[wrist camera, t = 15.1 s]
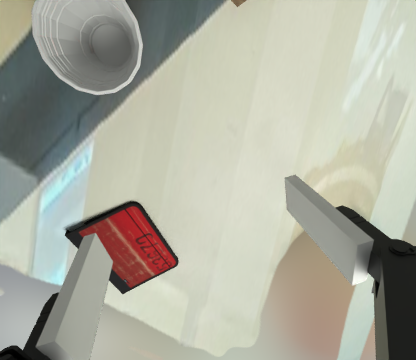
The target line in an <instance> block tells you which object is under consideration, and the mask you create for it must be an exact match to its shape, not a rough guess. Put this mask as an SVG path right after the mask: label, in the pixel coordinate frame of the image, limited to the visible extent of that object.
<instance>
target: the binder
mask: <svg viewBox="0 0 416 360" xmlns="http://www.w3.org/2000/svg"><path fill="white" fill-rule="evenodd" d="M84 224H86V225H84V226H82V227H80V228H78V229H76V230H74V231H72V232H69V231H68V230H67V231H66V233H65V236H66V237H67V238H68V239H69V240H70V241H71V242H72V243H73V244H74V245H75V246H76V247H77V248H78V249H79V247H80V244H81V242H82V240H83V238H84V236H87V235H90V234H94V233H96V234H97V236H98V238H99V239H100V241H101V243H102V244H103V246H104V248H105V249H106V251H107V253H108V254H109V256H110V257H111V259H112V261H113V264H112V268H111V273H110V277H109V281H110V282H111V283H112V284H113V285H114V286H115V287H116V288H117V289H118V290H119V291H120V292H121V293H122V294H124V293H126V292H128V291H130V290H132V289H134V288H135V287H137V286H139V285H141V284H143V283H145V282H147V281H149V280H151V279H153V278H155V277H157V276H159V275H161V274H163V273H165V272H166V271H168V270H170V269H172V268H174V267H176V266H177V265H178V257H177V256H175V254H174V253H173V252H172V250H171V249H170V247H169V246H168V245H167V243H166V242H165V240H164V239H163V237H162V236H161V234H160V233H159V231H158V230H157V228H156V227H155V226H154V224H153V223H152V221H151V220H150V218H149V217H148V215H147V214H146V212H145V210H144V208H143V207H142V205H141V204H139V203H137V202H130V203H127V204H125V205H123V206H120V207H118V208H115V209H113V210H111V211H109V212H107V213H104V214H102V215H100V216H97V217H95V218H93V219H91V220H89V221H87V222H85V223H84Z"/></svg>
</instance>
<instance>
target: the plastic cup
mask: <svg viewBox="0 0 416 360" xmlns="http://www.w3.org/2000/svg"><path fill="white" fill-rule="evenodd" d="M32 28H33V37H34V39H35V41H36V44H37V46H38V49H39V51H40V53H41V56H42V58H43V60H44V61H45V62H46V63H47V64H48V66H49V67H50V68H51V69H52V70H53V72H54V73H55V74H56V75H57V76H58V78H60V79H61V80H63V81H64V82H66V83H68V84H69V85H71V86H72V87H74V88H75V89H77V90H80V91H84V92H87V93H91V94H95V95H101V94H108V93H115V92H117V91H118V90H120V89H121V88H123V87H124V86H126V85H127V84H129V83H130V82H131V81H132V79H133V77H134V76H135V74H136V72H137V71H138V69H139V67H140V63H141V55H142V47H143V44H142V39H141V35H140V30H139V26H138V22H137V20H136V18H135V17H134V15H133V13H132V11H131V10H130V8H129V6H128V5H127V3H126V1H125V0H35V3H34V6H33V8H32Z"/></svg>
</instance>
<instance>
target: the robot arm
mask: <svg viewBox="0 0 416 360" xmlns="http://www.w3.org/2000/svg"><path fill="white" fill-rule="evenodd" d="M285 189H286V205H287V210H288V211H289V213H290V214H291V215H292V216H293V217H294V218H295V220H296V221H297V222H298V223H299V224H300V225H301V227H302V228H303V229H304V230H305V231H306V232H307V234H308V235H309V236H310V237H311V238H312V239H313V241H314V242H315V243H316V244H317V245H318V246H319V247H320V249H321V250H322V251H323V252H324V253H325V254H326V256H327V257H328V258H329V259H330V260H331V261H332V263H333V264H334V265H335V266H336V267H337V268H338V270H339V271H340V272H341V273H342V274H343V275H344V277H345V278H346V279H347V280H348V281H349V282H350V284H351V285H355V284H358V283H361V282H364V281H366V280H367V275H368V273H369V274H370V275H371V276H372V277H373V278H374V283H373V288H372V293H374V312H375V342H376V360H416V246H413V245H411V244H409V243H407V242H405V241H402V240H398V239H390V238H389V237H388V236H386V235H385V234H384V233H383V232H381V231H380V230H379V229H377V228H376V227H375V226H373V225H372V224H371V223H369V222H368V221H366V219H364V218H363V217H362V216H360V215H359V214H358V213H356V212H355V211H354V210H352V209H350V208H348V207H345V206H339V207H336V208H335V207H333V206H332V205H331V204H330V203H329V202H327V201H326V200H325V199H324V198H323V197H321V196H320V195H319V194H318V193H317V192H315V191H314V190H313V189H312V188H311V187H309V186H308V185H307V184H306V183H305V182H303V181H302V180H301V179H300V178H299V177H297V176H296V175H293V176H289V177H286V178H285ZM112 264H113V261H112V259H111V257H110V256H109V254H108V253H107V251H106V249H105V248H104V246H103V244H102V243H101V241H100V239H99V238H98V236H97V234H96V233H94V234H90V235H87V236H84V238H83V240H82V242H81V244H80V247H79V249H78V251H77V254H76V256H75V258H74V260H73V263H72V265H71V267H70V269H69V272H68V274H67V276H66V279H65V281H64V283H63V285H62V288H61V290H60V292H59V293H56V294H53V295H52V296H51V297H50V299H49V300H48V301H47V302H46V304H45V305H44V307H43V309H42V311H41V313H40V316H39V318H38V320H37V322H36V325H35V326H34V328H33V330H32V332H31V334H30V336H29V339H28V341H27V343H26V345H25V347H24V349H23V350H22V349H20V348H19V347H18V346H10V347H7V348H5V349H3V350H2V351H0V360H90V357H91V353H92V348H93V344H94V340H95V336H96V332H97V328H98V323H99V319H100V315H101V311H102V306H103V302H104V298H105V294H106V290H107V285H108V281H109V277H110V273H111V268H112Z"/></svg>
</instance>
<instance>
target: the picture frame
mask: <svg viewBox="0 0 416 360" xmlns="http://www.w3.org/2000/svg"><path fill="white" fill-rule="evenodd" d="M231 1H232V2H233V3H234V4H235V5H236V6H237V7H238V6H239V5H241V4H242V3H244V2H245V1H246V0H231Z"/></svg>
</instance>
